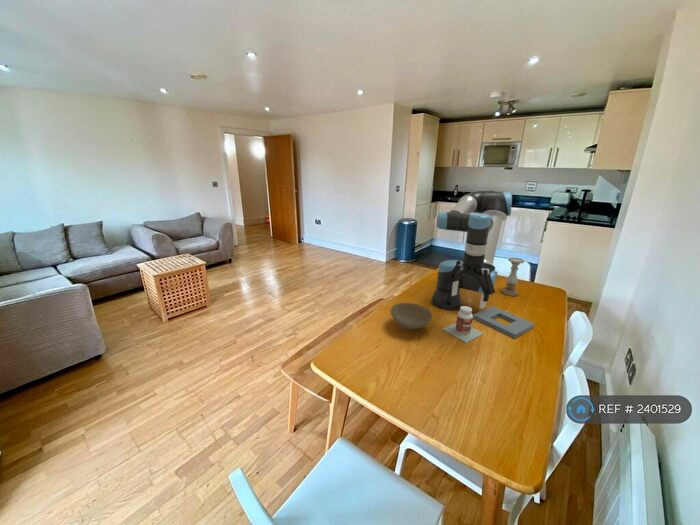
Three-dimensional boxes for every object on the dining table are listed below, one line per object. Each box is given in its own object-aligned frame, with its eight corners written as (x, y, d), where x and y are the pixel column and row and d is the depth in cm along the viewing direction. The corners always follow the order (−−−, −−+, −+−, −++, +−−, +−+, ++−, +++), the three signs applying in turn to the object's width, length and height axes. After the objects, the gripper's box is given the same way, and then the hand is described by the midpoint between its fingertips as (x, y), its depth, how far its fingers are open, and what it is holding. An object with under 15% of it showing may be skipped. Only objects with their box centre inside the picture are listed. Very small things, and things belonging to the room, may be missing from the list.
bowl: (438, 327, 126) (440, 311, 123) (417, 345, 113) (419, 327, 110) (403, 313, 138) (404, 298, 135) (381, 328, 125) (381, 312, 122)
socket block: (472, 318, 133) (472, 314, 132) (491, 309, 141) (492, 305, 140) (514, 338, 117) (515, 334, 116) (533, 327, 125) (534, 323, 124)
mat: (442, 329, 124) (442, 328, 123) (459, 321, 130) (459, 321, 130) (465, 343, 114) (466, 342, 114) (483, 334, 120) (483, 333, 120)
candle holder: (502, 288, 165) (508, 256, 159) (519, 292, 160) (526, 259, 154) (499, 293, 159) (506, 260, 152) (517, 297, 154) (524, 263, 147)
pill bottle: (462, 336, 118) (465, 313, 114) (452, 328, 123) (455, 306, 120) (473, 333, 120) (477, 310, 117) (463, 326, 126) (466, 304, 122)
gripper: (442, 247, 118) (438, 292, 126) (499, 264, 98) (489, 316, 106) (454, 244, 122) (449, 288, 129) (511, 260, 102) (501, 310, 109)
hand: (467, 301), depth 117 cm, fingers open, 13 cm apart
